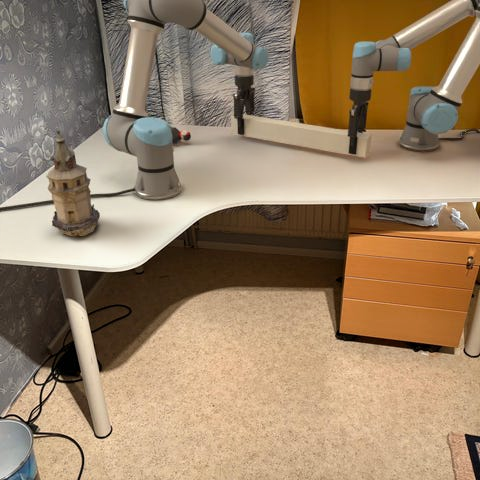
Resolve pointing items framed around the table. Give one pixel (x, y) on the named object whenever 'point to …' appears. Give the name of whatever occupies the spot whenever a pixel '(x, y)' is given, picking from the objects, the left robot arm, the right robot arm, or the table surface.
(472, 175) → the table surface
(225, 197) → the table surface
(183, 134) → the toy
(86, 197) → the miniature building
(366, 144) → the bar
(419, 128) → the right robot arm
